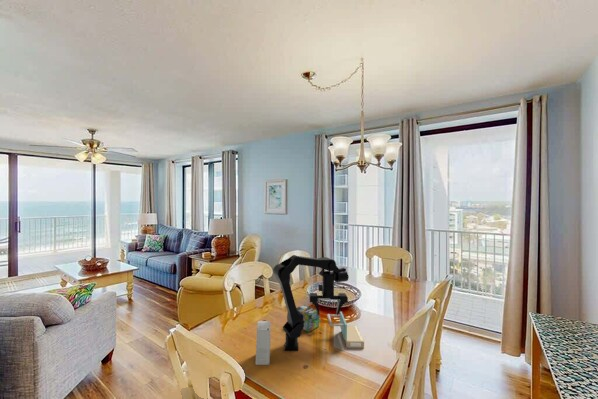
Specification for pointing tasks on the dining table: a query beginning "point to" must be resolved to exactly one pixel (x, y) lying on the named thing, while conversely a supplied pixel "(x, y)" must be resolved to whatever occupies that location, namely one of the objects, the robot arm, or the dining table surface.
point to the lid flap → (342, 324)
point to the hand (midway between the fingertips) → (328, 314)
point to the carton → (353, 338)
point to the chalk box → (309, 317)
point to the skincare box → (263, 343)
